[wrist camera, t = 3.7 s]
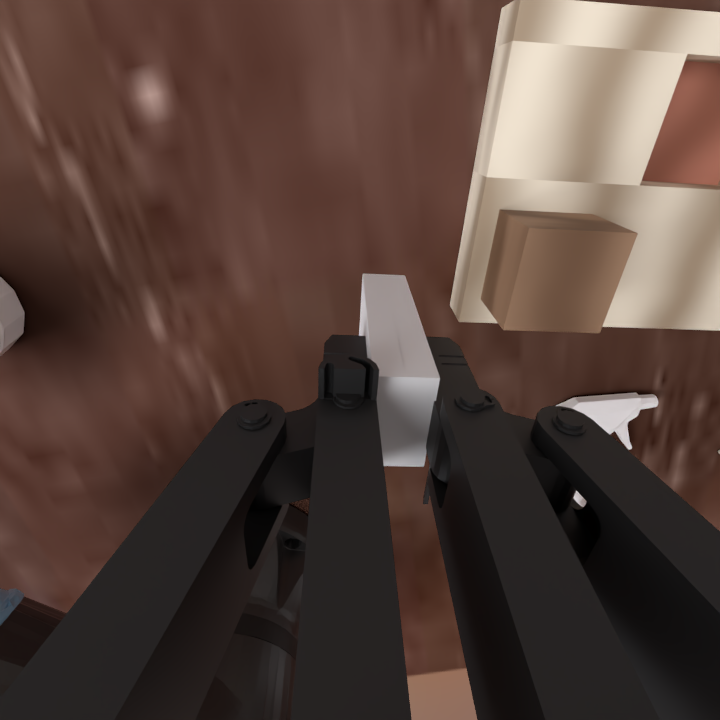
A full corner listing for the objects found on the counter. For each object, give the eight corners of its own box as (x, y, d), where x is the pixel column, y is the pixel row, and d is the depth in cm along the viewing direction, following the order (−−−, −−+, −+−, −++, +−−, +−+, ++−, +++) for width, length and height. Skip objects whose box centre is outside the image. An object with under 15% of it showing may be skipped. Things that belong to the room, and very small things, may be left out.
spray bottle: (487, 584, 44) (519, 390, 32) (590, 578, 45) (662, 381, 32) (495, 613, 42) (535, 413, 30) (605, 606, 42) (690, 404, 30)
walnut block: (480, 299, 25) (503, 330, 21) (499, 209, 22) (529, 228, 19) (563, 302, 25) (599, 333, 21) (592, 213, 22) (637, 233, 19)
